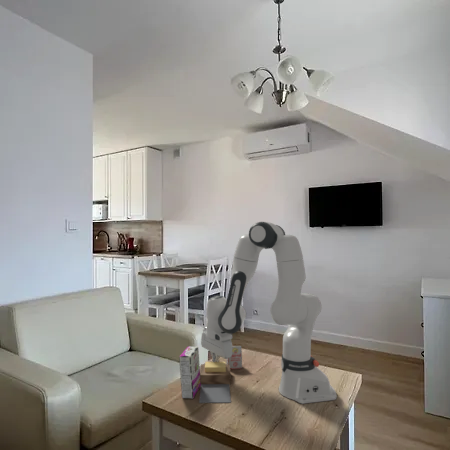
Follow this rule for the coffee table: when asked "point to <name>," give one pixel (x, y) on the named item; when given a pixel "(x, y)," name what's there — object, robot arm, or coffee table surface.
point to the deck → (215, 376)
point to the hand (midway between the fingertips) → (215, 362)
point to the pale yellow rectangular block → (215, 367)
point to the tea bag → (235, 358)
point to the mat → (215, 393)
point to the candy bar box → (190, 372)
